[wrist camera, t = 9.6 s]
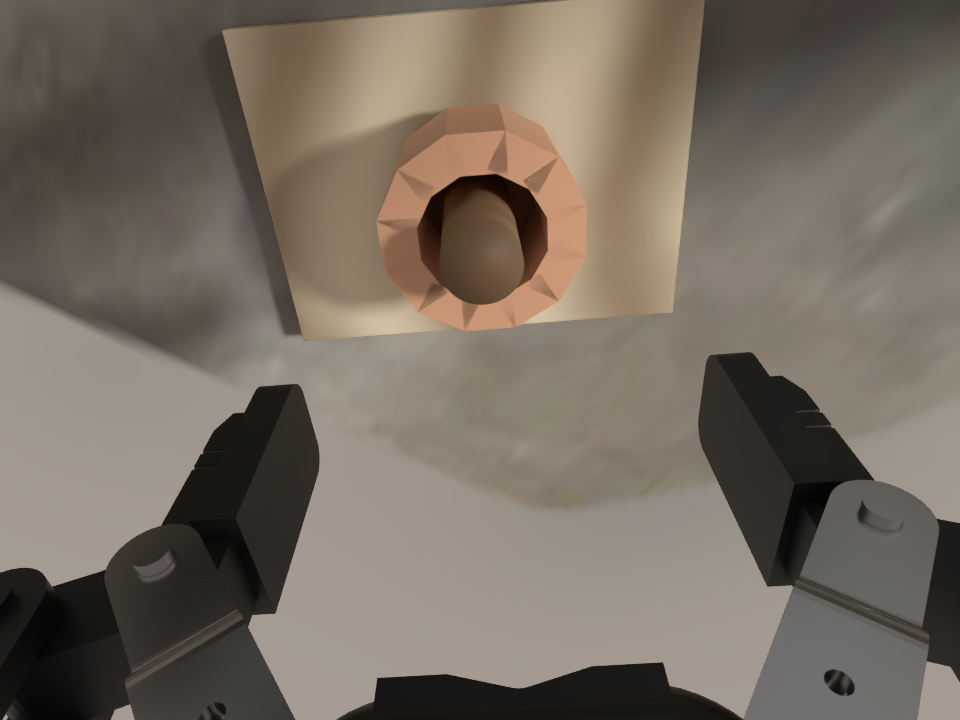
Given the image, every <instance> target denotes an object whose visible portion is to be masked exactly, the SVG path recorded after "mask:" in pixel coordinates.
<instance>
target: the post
mask: <svg viewBox="0 0 960 720" xmlns="http://www.w3.org/2000/svg"><path fill="white" fill-rule="evenodd" d="M534 210H535V198H534V196H533V195H532V193H531V192H530V190H529V189H528V188H525V187H523V186H521V185H519V184H517V183H515V182H513V181H511V180H509V179H507V178H505V177H503V176H501V175H498V174H486V175H474V176H462V177H459V178H457V179H456V180H455V181H453V182H452V183H450V184H449V185H447V186H446V187H445V188H443V189H442V190H440V191H439V192H437V193H436V194H435V195H433V196H432V197H431V198H430V200H429V202H428V204H427V207H426V212H427V218H428V219H429V221H430V222H431V223H432V225H433V226H434V227H435V229H436V230H437V231H438V232H439V234H440V235H441V249H440V263H439V269H440V275H441V278H442V281H443V283H444V285H445V286H446V288H447V289H448V290H449V291H450V293H452V294H453V295H454V296H455V297H457V298H458V299H460V300H462V301H464V302H467V303H470V304H476V305H486V304H492V303H496V302H498V301H501V300H503V299H504V298H506V297H507V296H509V295H510V294H511V293H512V292H513V291H514V290H515V289H516V288H517V286H518V285H519V283H520V281H521V279H522V276H523V271H524V258H523V254H522V249H521V244H520V240H519V235H521V234H522V232H523V230H524V228H525V227H526V225H527V223H528V221H529V219H530V217H531V215H532V214H533V212H534Z"/></svg>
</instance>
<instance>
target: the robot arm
mask: <svg viewBox="0 0 960 720" xmlns="http://www.w3.org/2000/svg"><path fill="white" fill-rule="evenodd" d="M698 428H699V437H700V442H701V445H702V448H703V451H704V453H705V455H706V457H707V459H708V461H709V464H710V466H711V468H712V470H713V472H714V474H715V476H716V478H717V481H718V483H719V485H720V487H721V489H722V491H723V493H724V495H725V498H726V499H727V502H728V504H729V506H730V508H731V510H732V512H733V514H734V517H735V519H736V521H737V523H738V525H739V527H740V529H741V531H742V533H743V535H744V538H745V540H746V542H747V544H748V546H749V548H750V550H751V553H752V555H753V557H754V559H755V561H756V563H757V565H758V567H759V570H760V572H761V574H762V576H763V578H764V580H765V582H766V584H767V586H768V587H769V586H786V585H792V586H793V589H792V592H791V594H790V597H789V600H788V603H787V605H786V608H785V610H784V613H783V616H782V618H781V621H780V623H779V626H778V629H777V631H776V634H775V637H774V639H773V642H772V645H771V648H770V650H769V653H768V655H767V658H766V661H765V663H764V666H763V668H762V671H761V674H760V676H759V679H758V682H757V684H756V687H755V690H754V692H753V695H752V698H751V700H750V703H749V706H748V708H747V711H746V714H745V716H744V719H742V718H741V717H739V716H738V715H736V714H735V713H734V712H732V711H730V710H729V709H727V708H725V707H723V706H722V705H720V704H718V703H716V702H714V701H712V700H710V699H708V698H705V697H703V696H701V695H699V694H696V693H693V692H690V691H687V690H684V689H681V688H676V687H672V686H669V683H668V679H667V676H666V672H665V668H664V665H663V663H645V664H627V665H609V666H592V667H589V668H586V669H582V670H580V671H576V672H573V673H570V674H567V675H564V676H561V677H558V678H555V679H552V680H549V681H545V682H542V683H539V684H536V685H533V686H530V687H526V688H519V689H517V688H510V687H505V686H501V685H496V684H491V683H486V682H481V681H476V680H471V679H467V678H462V677H457V676H452V675H447V674H444V675H425V676H407V677H391V678H390V677H388V678H377V686H376V692H375V700H374V702H372V703H369V704H366V705H364V706H361V707H359V708H357V709H355V710H353V711H351V712H348V713H347V714H345V715H343V716H342V717H340V718H338V719H337V720H917V716H918V710H919V704H920V698H921V692H922V686H923V680H924V674H925V668H926V662H927V661H929V662H933V663H937V664H941V665H946V666H950V667H951V668H952V670H953V671H954V673H955V675H956V676H957V678H958V680H959V681H960V523H956V522H950V521H945V520H940V519H936V517H935V516H934V514H933V513H932V511H931V510H930V509H929V508H928V507H927V506H926V505H925V504H924V503H923V502H922V501H921V500H919V499H918V498H916V497H915V496H913V495H912V494H910V493H908V492H907V491H904V490H902V489H900V488H898V487H895V486H892V485H890V484H886V483H882V482H878V481H875V480H874V479H873V477H872V476H871V475H870V474H869V472H868V471H867V470H866V469H865V467H864V466H863V465H862V463H861V462H860V461H859V460H858V458H857V457H856V456H855V454H854V453H853V452H852V450H851V449H850V448H849V447H848V445H847V444H846V443H845V441H844V440H843V439H842V438H841V436H840V435H839V434H838V432H837V431H836V430H835V429H834V428H831V423H830V422H829V421H828V419H827V418H826V417H825V416H824V414H823V413H820V412H819V408H818V407H817V405H816V404H815V403H814V401H813V400H812V399H811V398H810V396H809V395H808V394H807V392H806V391H805V390H803V389H802V388H800V387H799V386H797V385H795V384H794V383H792V382H791V381H789V380H788V379H786V378H785V377H783V376H771V377H770V376H769V375H768V373H767V372H766V370H765V369H764V368H763V366H762V365H761V363H760V362H759V361H758V359H757V358H756V356H755V355H754V354H753V353H751V352H746V353H732V354H718V355H710V356H709V358H708V359H707V362H706V368H705V375H704V382H703V389H702V397H701V404H700V411H699V420H698ZM194 467H195V469H194V470H192V471H191V473H190V475H189V477H188V478H187V480H186V482H185V484H184V486H183V487H182V489H181V491H180V493H179V495H178V496H177V498H176V500H175V502H174V503H173V505H172V507H171V509H170V511H169V513H168V514H167V516H166V518H165V520H164V522H163V523H162V525H161V526H159V527H156V528H153V529H150V530H148V531H146V532H144V533H142V534H140V535H138V536H136V537H135V538H133V539H132V540H130V541H129V542H128V543H126V544H125V545H124V546H123V547H122V548H120V549H119V550H118V552H117V553H116V554H115V555H114V556H113V558H112V559H111V560H110V562H109V564H108V566H107V569H106V570H104V571H101V572H98V573H95V574H92V575H88V576H85V577H82V578H79V579H75V580H72V581H69V582H66V583H63V584H59V585H56V586H53V587H52V586H51V585H50V583H49V582H48V580H47V579H46V577H45V576H44V575H43V573H41V572H40V571H38V570H36V569H31V568H17V569H11V570H8V571H4V572H1V573H0V720H2V719H3V718H4V716H5V714H6V715H7V716H8V719H7V720H111V717H112V715H113V713H114V710H115V709H118V708H121V707H124V706H126V705H129V704H130V705H131V708H132V712H133V715H134V719H135V720H295V718H294V716H293V715H292V712H291V711H290V709H289V707H288V705H287V703H286V701H285V699H284V697H283V695H282V693H281V691H280V689H279V687H278V685H277V683H276V681H275V679H274V677H273V675H272V674H271V671H270V670H269V668H268V666H267V664H266V662H265V660H264V658H263V656H262V654H261V652H260V650H259V648H258V646H257V644H256V642H255V640H254V638H253V636H252V634H251V632H250V631H249V629H248V625H249V622H250V620H251V616H252V615H258V614H275V613H276V610H277V606H278V603H279V600H280V597H281V593H282V590H283V587H284V583H285V580H286V577H287V573H288V571H289V567H290V564H291V561H292V557H293V554H294V551H295V548H296V544H297V541H298V538H299V535H300V531H301V528H302V525H303V521H304V518H305V515H306V512H307V508H308V505H309V502H310V499H311V495H312V492H313V489H314V485H315V482H316V479H317V475H318V471H319V448H318V443H317V439H316V436H315V432H314V429H313V425H312V422H311V418H310V415H309V412H308V408H307V405H306V401H305V398H304V394H303V391H302V389H301V387H300V386H299V385H298V384H289V385H275V386H262V387H258V388H257V389H256V391H255V393H254V395H253V397H252V399H251V401H250V403H249V405H248V407H247V409H246V411H245V412H244V413H234V414H232V415H231V416H230V417H229V418H228V419H227V420H226V421H225V422H223V423H222V424H221V425H220V426H219V427H218V428H217V429H216V430H214V432H213V434H212V435H211V437H210V439H209V441H208V443H207V444H206V446H205V448H204V450H203V454H201V455H200V457H199V459H198V460H197V462H196V464H195V466H194Z"/></svg>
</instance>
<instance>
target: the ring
mask: <svg viewBox="0 0 960 720" xmlns="http://www.w3.org/2000/svg"><path fill="white" fill-rule="evenodd" d="M486 174H498V175H501V176H503V177H505V178H507V179H509V180H511V181H513V182H515V183H517V184H519V185H521V186H523V187H525V188H528V189H529V190H530V192H531V193H532V195H533V196H534V198H535V210H534V212H533V214H532V215H531V217H530V219H529V221H528V223H527V225H526V227H525V228H524V230H523V232H522V234H521V235H519V240H520V244H521V249H522V254H523V258H524V271H523V276H522V279H521V281H520V283H519V285H518V286H517V288H516V289H515V290H514V291H513V292H512V293H511V294H510V295H509V296H507V297H506V298H504V299H503V300H501V301H498V302H496V303H492V304H486V305H476V304H470V303H467V302H464V301H462V300H460V299H458V298H457V297H455V296H454V295H453V294H452V293H450V291H449V290H448V289H447V288H446V286H445V285H444V283H443V281H442V278H441V275H440V269H439V263H440V249H441V235H440V234H439V232H438V231H437V230H436V229H435V227H434V226H433V225H432V223H431V222H430V221H429V219H428V218H427V212H426V207H427V204H428V202H429V200H430V198H431V197H432V196H433V195H435V194H436V193H437V192H439V191H440V190H442V189H443V188H445V187H446V186H447V185H449V184H450V183H452V182H453V181H455V180H456V179H457V178H459V177H462V176H474V175H486ZM376 223H377V229H378V235H379V241H380V247H381V253H382V259H383V264H384V270H385V274H386V275H387V276H388V277H389V278H390V280H391V281H392V282H393V283H394V284H395V286H396V287H397V288H398V289H399V290H400V292H401V293H402V294H403V295H404V296H405V298H406V299H407V300H408V301H409V302H410V304H411V305H412V306H413V307H414V308H415V310H416V311H417V312H419V313H421V314H423V315H426V316H428V317H431V318H433V319H436V320H438V321H441V322H443V323H446V324H448V325H451V326H453V327H456V328H458V329H461V330H463V331H473V330H486V329H499V328H512V327H517V326H518V325H520V324H522V323H523V322H525V321H527V320H528V319H530V318H532V317H533V316H535V315H537V314H538V313H540V312H542V311H544V310H545V309H547V308H549V307H550V306H552V305H554V304H555V303H557V302H559V301H560V299H561V297H562V296H563V294H564V292H565V291H566V289H567V288H568V286H569V284H570V283H571V281H572V279H573V278H574V276H575V274H576V273H577V271H578V270H579V268H580V266H581V265H582V263H583V261H584V260H585V258H586V230H587V203H586V202H585V200H584V198H583V196H582V194H581V192H580V190H579V188H578V186H577V184H576V183H575V181H574V179H573V177H572V175H571V173H570V171H569V169H568V168H567V166H566V164H565V163H564V161H563V159H562V158H561V156H560V154H559V153H558V151H557V149H556V148H555V146H554V144H553V143H552V141H551V139H550V137H549V136H548V134H547V132H546V131H545V129H544V127H543V126H541V125H539V124H537V123H535V122H533V121H531V120H529V119H527V118H525V117H523V116H522V115H520V114H518V113H516V112H514V111H512V110H510V109H508V108H506V107H504V106H502V105H500V104H488V105H476V106H464V107H452V108H447V109H445V110H444V111H443V112H441V113H440V114H439V115H437V116H436V117H435V118H433V119H432V120H431V121H429V122H428V123H426V124H425V125H424V126H422V127H421V128H420V129H418V130H417V131H416V132H414V133H413V134H412V135H410V136H409V137H408V138H407V140H406V142H405V145H404V147H403V150H402V152H401V154H400V157H399V159H398V162H397V164H396V167H395V169H394V172H393V174H392V177H391V179H390V182H389V184H388V187H387V190H386V193H385V196H384V199H383V202H382V205H381V208H380V211H379V214H378V217H377V220H376Z"/></svg>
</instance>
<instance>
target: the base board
mask: <svg viewBox="0 0 960 720" xmlns="http://www.w3.org/2000/svg"><path fill="white" fill-rule="evenodd" d="M704 6H705V0H544V1H533V2H521V3H510V4H498V5H486V6H475V7H463V8H452V9H440V10H429V11H417V12H406V13H394V14H383V15H371V16H360V17H348V18H336V19H325V20H313V21H302V22H290V23H279V24H267V25H256V26H244V27H233V28H229V29H226V30H222V32H223V36H224V40H225V44H226V47H227V51H228V55H229V59H230V63H231V66H232V70H233V74H234V78H235V82H236V85H237V89H238V93H239V97H240V100H241V104H242V108H243V112H244V116H245V119H246V123H247V127H248V131H249V135H250V138H251V142H252V146H253V150H254V154H255V157H256V161H257V165H258V169H259V172H260V176H261V180H262V184H263V188H264V191H265V195H266V199H267V203H268V207H269V210H270V214H271V218H272V222H273V226H274V229H275V233H276V237H277V241H278V244H279V248H280V252H281V256H282V260H283V263H284V267H285V271H286V275H287V279H288V282H289V286H290V290H291V294H292V298H293V301H294V305H295V309H296V313H297V316H298V320H299V324H300V328H301V332H302V335H303V339H304V341H308V340H321V339H334V338H347V337H360V336H372V335H385V334H398V333H411V332H424V331H437V330H450V329H458V328H456V327H453V326H451V325H448V324H446V323H443V322H441V321H438V320H436V319H433V318H431V317H428V316H426V315H423V314H421V313H419V312H417V311H416V310H415V308H414V307H413V306H412V305H411V304H410V302H409V301H408V300H407V299H406V298H405V296H404V295H403V294H402V293H401V292H400V290H399V289H398V288H397V287H396V286H395V284H394V283H393V282H392V281H391V280H390V278H389V277H388V276H387V275H386V274H385V270H384V264H383V259H382V253H381V247H380V241H379V235H378V229H377V223H376V220H377V217H378V214H379V211H380V208H381V205H382V202H383V199H384V196H385V193H386V190H387V187H388V184H389V182H390V179H391V177H392V174H393V172H394V169H395V167H396V164H397V162H398V159H399V157H400V154H401V152H402V150H403V147H404V145H405V142H406V140H407V138H408V137H409V136H410V135H412V134H413V133H414V132H416V131H417V130H418V129H420V128H421V127H422V126H424V125H425V124H426V123H428V122H429V121H431V120H432V119H433V118H435V117H436V116H437V115H439V114H440V113H441V112H443V111H444V110H445V109H447V108H452V107H464V106H476V105H488V104H500V105H502V106H504V107H506V108H508V109H510V110H512V111H514V112H516V113H518V114H520V115H522V116H523V117H525V118H527V119H529V120H531V121H533V122H535V123H537V124H539V125H541V126H543V127H544V129H545V131H546V132H547V134H548V136H549V137H550V139H551V141H552V143H553V144H554V146H555V148H556V149H557V151H558V153H559V154H560V156H561V158H562V159H563V161H564V163H565V164H566V166H567V168H568V169H569V171H570V173H571V175H572V177H573V179H574V181H575V183H576V184H577V186H578V188H579V190H580V192H581V194H582V196H583V198H584V200H585V202H586V203H587V230H586V258H585V260H584V261H583V263H582V265H581V266H580V268H579V270H578V271H577V273H576V274H575V276H574V278H573V279H572V281H571V283H570V284H569V286H568V288H567V289H566V291H565V292H564V294H563V296H562V297H561V299H560V301H559V302H557V303H555V304H554V305H552V306H550V307H549V308H547V309H545V310H544V311H542V312H540V313H538V314H537V315H535V316H533V317H532V318H530V319H528V320H527V321H525V322H523V323H522V324H528V323H541V322H554V321H567V320H580V319H592V318H605V317H618V316H631V315H644V314H657V313H670V312H672V311H673V301H674V292H675V282H676V273H677V263H678V254H679V244H680V235H681V225H682V216H683V206H684V197H685V187H686V178H687V168H688V158H689V149H690V139H691V130H692V120H693V111H694V101H695V92H696V82H697V73H698V63H699V54H700V44H701V35H702V25H703V15H704Z"/></svg>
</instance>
